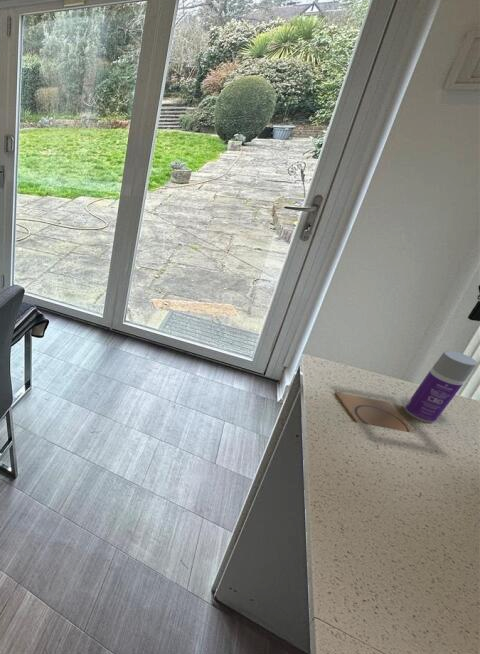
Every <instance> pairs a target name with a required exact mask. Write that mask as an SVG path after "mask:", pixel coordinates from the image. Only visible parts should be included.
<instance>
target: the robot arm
mask: <svg viewBox="0 0 480 654" xmlns="http://www.w3.org/2000/svg"><path fill="white" fill-rule="evenodd" d="M477 289H478V293H479V294H478V295H477V296H476V300H478V301H477V302H476V303H475V305H474V307H473V308H472V310H471V311H470V313H469V314H468V315H467V319H468V320H470V321H475V322H480V284H479V285H478V288H477Z"/></svg>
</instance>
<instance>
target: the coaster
mask: <svg viewBox="0 0 480 654" xmlns="http://www.w3.org/2000/svg"><path fill="white" fill-rule="evenodd" d="M334 394H335V396H336V398H338V400H339V401H340V403H341V404H342V406H343V407H344V409H346V411H347V413H348V414H349V415H350V417H351V418H352V419H353V420H354V422H355V423H359V424H364V425H367V426H368V425H369V426H375V427H380V428H385V429H390V430H395V431H400V432H405V433H410V434H411V433H412V434H415V435H417V432H416V431H415V430H414V429H413V428H412V426H411V425H410V424H409V423H408V422H407V421H406V420H405V418H404V417H403V416H402V415H401V413H400V412H399V411H398V410H397V409H396V408H395V406H393V404H392V403H391V402H390V401H386V400H379V399H377V398H376V399H375V398H370V397H364V396H359V395H354V394H348V393H343V392H338V391H337V392H336V391H335V392H334Z"/></svg>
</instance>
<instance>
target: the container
mask: <svg viewBox="0 0 480 654" xmlns="http://www.w3.org/2000/svg"><path fill="white" fill-rule="evenodd" d="M477 365H478V362H477V360H476V359H474V358H472V357H471V356H469V355H466V354H464V353H462V352H458V351H454V350H444V351H443V352H442V353H441V355H440V357H439V358H438V359H437V360H436V362H435V363H434V365H433V366H432V368H430V370H429V371H428V373H427V374H426V375H425V377H424V379H423V380H422V382H421V383H420V384H419V386H418V387H417V389H416V390H415V392H413V395H412V396H411V398H410V399H409V401H408V402H407V403H406V405H405V406H404V411H405V412H406V413H407V414H408V415H409V416H411V417H413V418H414V419H416V420H418V421H421V422H423V423H429V424H434V423H435V422H436V421H437V420H438V419H439V418H440V415H442V414H443V412H444V411H445V410H446V408H447V406H448V405H449V404H450V403H451V401H452V400H453V399H454V398H455V396H456V395H457V393H458V392H459V391H460V389H461V388H462V387H463V385H464V384H465V382H466V381H467V380H468V378H469V377H470V375H471V374H472V372H473V371H474V370H475V368H476V366H477Z"/></svg>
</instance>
